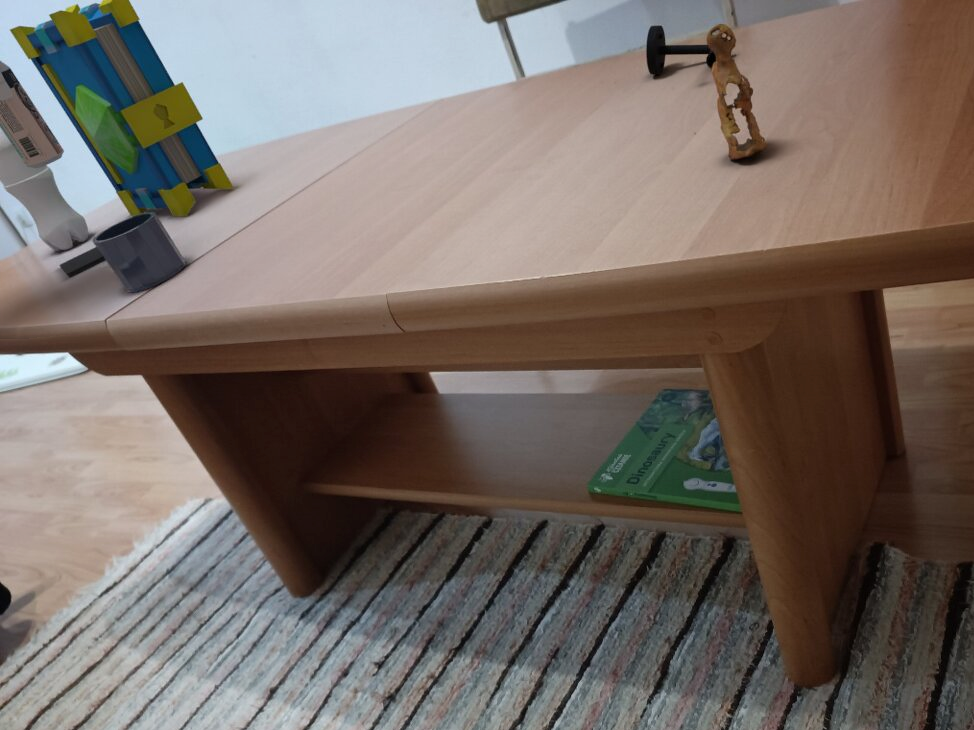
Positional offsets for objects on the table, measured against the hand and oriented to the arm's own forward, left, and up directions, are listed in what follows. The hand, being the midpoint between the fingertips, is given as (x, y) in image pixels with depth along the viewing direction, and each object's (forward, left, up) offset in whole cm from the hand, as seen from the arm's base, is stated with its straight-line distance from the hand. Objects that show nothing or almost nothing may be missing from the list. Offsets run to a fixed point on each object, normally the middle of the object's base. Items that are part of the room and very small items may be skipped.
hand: (5, 98), depth 107 cm
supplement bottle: (0, 0, -8) cm, 8 cm away
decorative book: (+15, +23, -24) cm, 36 cm away
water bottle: (-2, +31, -24) cm, 39 cm away
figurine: (+48, -75, -24) cm, 92 cm away
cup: (+2, -12, -24) cm, 27 cm away
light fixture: (+68, -45, -24) cm, 85 cm away
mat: (-2, +14, -24) cm, 27 cm away
